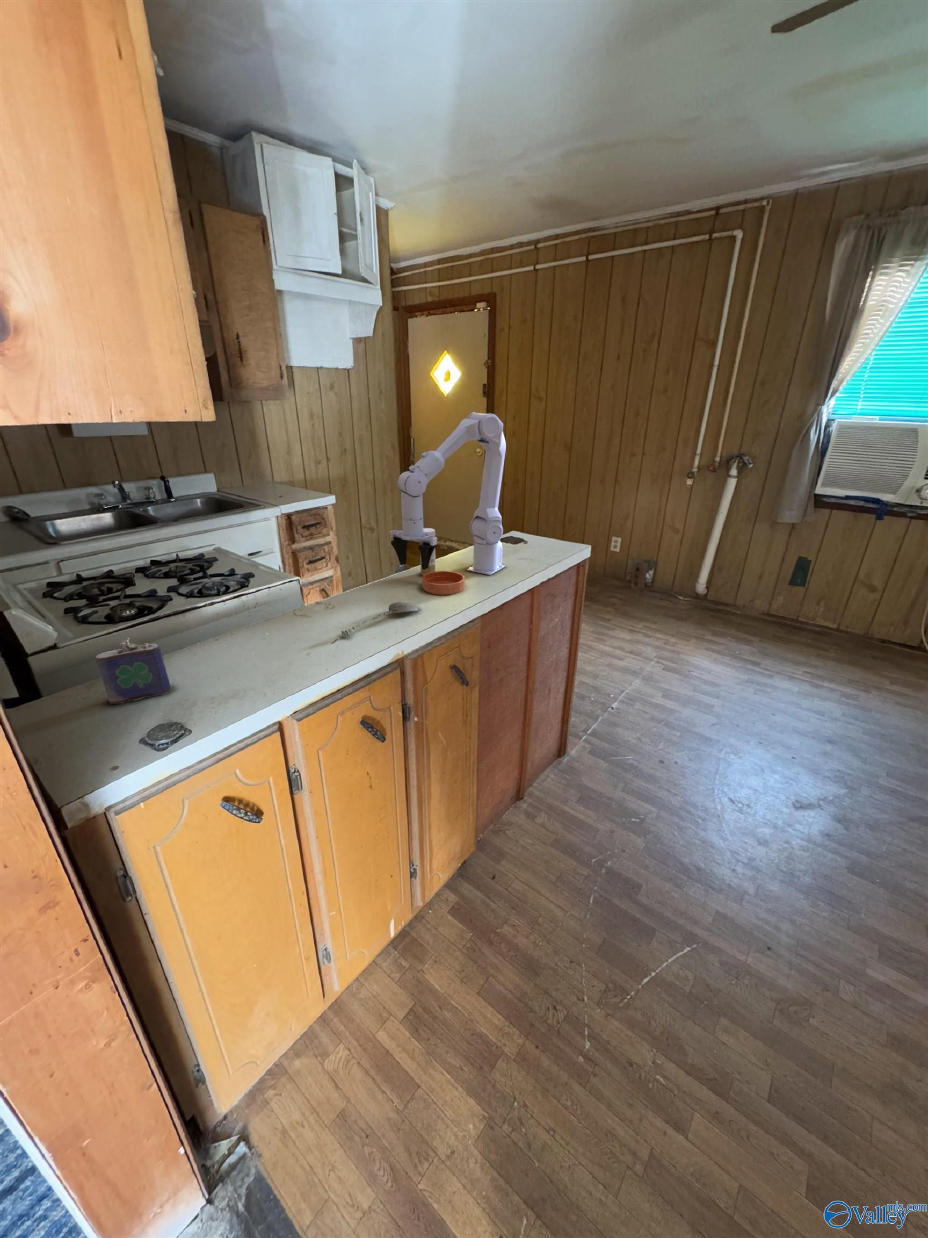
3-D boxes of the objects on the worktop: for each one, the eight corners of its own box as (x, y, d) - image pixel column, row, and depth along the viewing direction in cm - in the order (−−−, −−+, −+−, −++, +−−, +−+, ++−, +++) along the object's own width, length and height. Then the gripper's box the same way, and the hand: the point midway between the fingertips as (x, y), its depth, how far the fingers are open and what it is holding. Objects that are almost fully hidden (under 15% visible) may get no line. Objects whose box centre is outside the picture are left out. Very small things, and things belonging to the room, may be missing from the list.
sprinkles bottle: (429, 571, 150) (428, 526, 145) (438, 575, 147) (438, 529, 142) (417, 574, 148) (415, 529, 142) (426, 578, 145) (425, 532, 139)
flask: (108, 706, 84) (90, 649, 80) (111, 697, 86) (93, 641, 82) (171, 693, 88) (157, 638, 83) (171, 685, 90) (157, 631, 86)
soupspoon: (424, 614, 122) (405, 608, 126) (423, 600, 121) (404, 595, 125) (352, 641, 107) (333, 634, 110) (351, 626, 105) (332, 619, 109)
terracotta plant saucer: (437, 578, 145) (437, 568, 143) (472, 585, 139) (472, 575, 138) (413, 590, 136) (413, 579, 134) (450, 598, 130) (450, 587, 129)
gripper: (381, 517, 135) (384, 565, 141) (426, 524, 128) (427, 574, 134) (398, 512, 141) (400, 559, 146) (441, 519, 134) (441, 567, 139)
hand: (414, 566), depth 140 cm, fingers open, 7 cm apart
